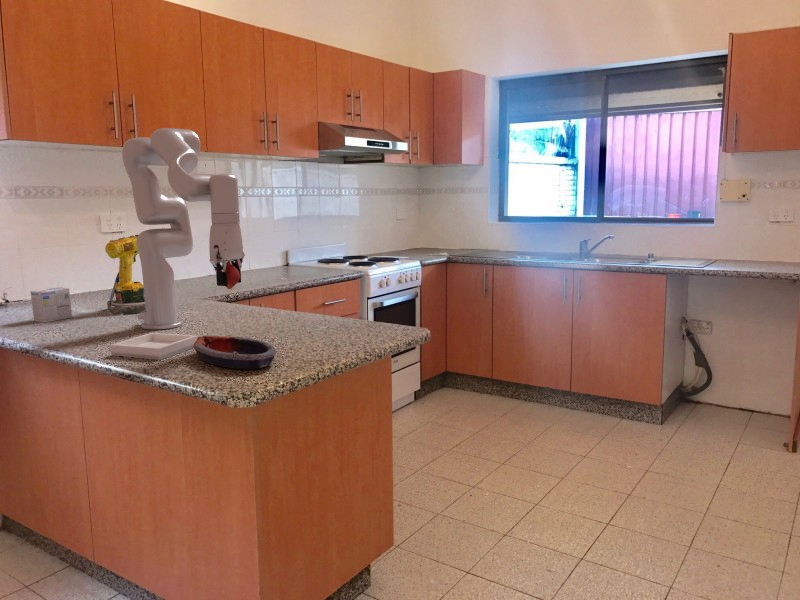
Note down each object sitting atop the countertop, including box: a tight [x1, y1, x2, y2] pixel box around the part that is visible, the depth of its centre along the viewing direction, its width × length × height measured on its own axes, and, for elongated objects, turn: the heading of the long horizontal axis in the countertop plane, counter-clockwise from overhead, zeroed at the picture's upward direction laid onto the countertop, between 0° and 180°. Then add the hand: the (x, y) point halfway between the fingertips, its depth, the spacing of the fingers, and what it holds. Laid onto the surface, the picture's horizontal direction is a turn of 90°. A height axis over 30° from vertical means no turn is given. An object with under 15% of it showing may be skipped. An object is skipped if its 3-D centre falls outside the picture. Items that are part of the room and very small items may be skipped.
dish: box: [193, 335, 277, 370], centre depth 167 cm, size 16×31×5 cm, turn 44°
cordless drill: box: [104, 234, 146, 315], centre depth 244 cm, size 18×19×28 cm
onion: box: [224, 261, 240, 290], centre depth 184 cm, size 6×6×8 cm
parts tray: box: [109, 332, 199, 361], centre depth 179 cm, size 16×16×3 cm
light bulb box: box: [30, 286, 73, 324], centre depth 229 cm, size 11×7×11 cm, turn 149°
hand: (229, 283), depth 184 cm, fingers closed on onion, 5 cm apart
